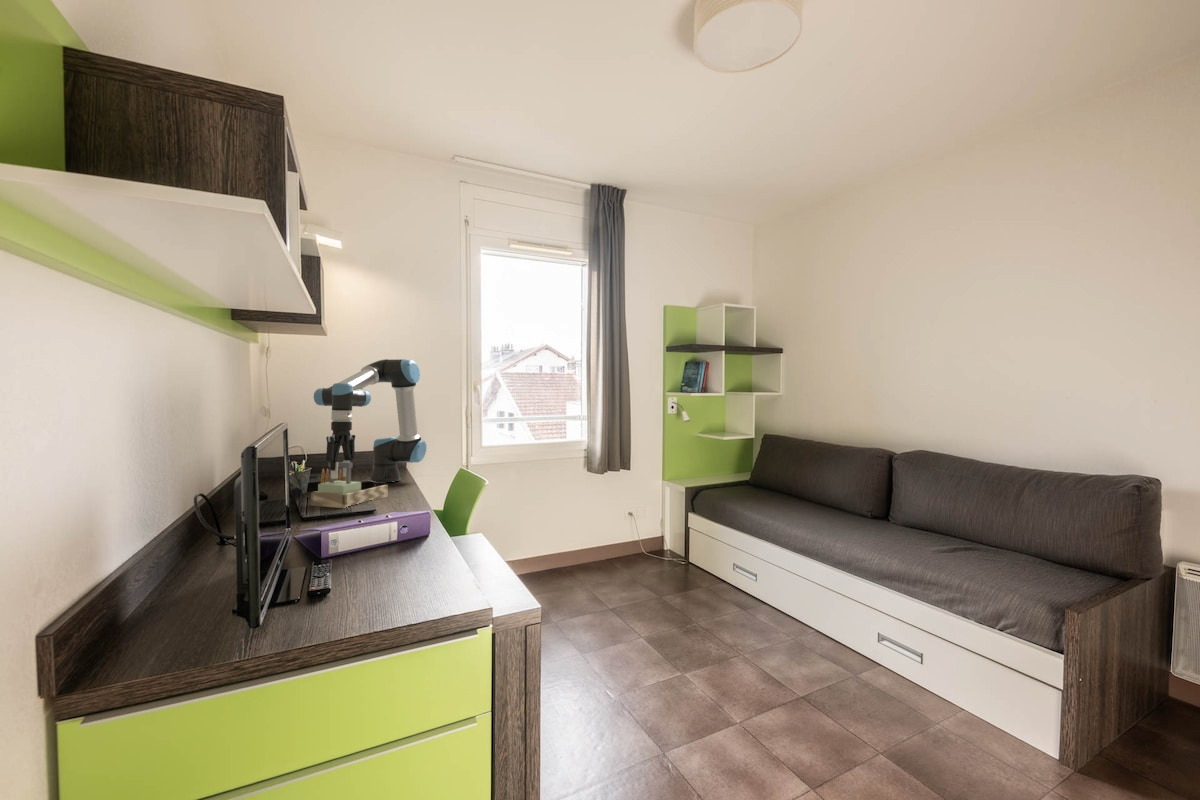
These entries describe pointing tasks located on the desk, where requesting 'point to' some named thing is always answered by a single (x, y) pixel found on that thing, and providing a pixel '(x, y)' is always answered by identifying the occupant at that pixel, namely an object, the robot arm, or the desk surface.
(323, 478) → the ammunition clip
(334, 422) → the robot arm
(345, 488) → the green panel with handle
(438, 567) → the desk surface
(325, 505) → the bay
